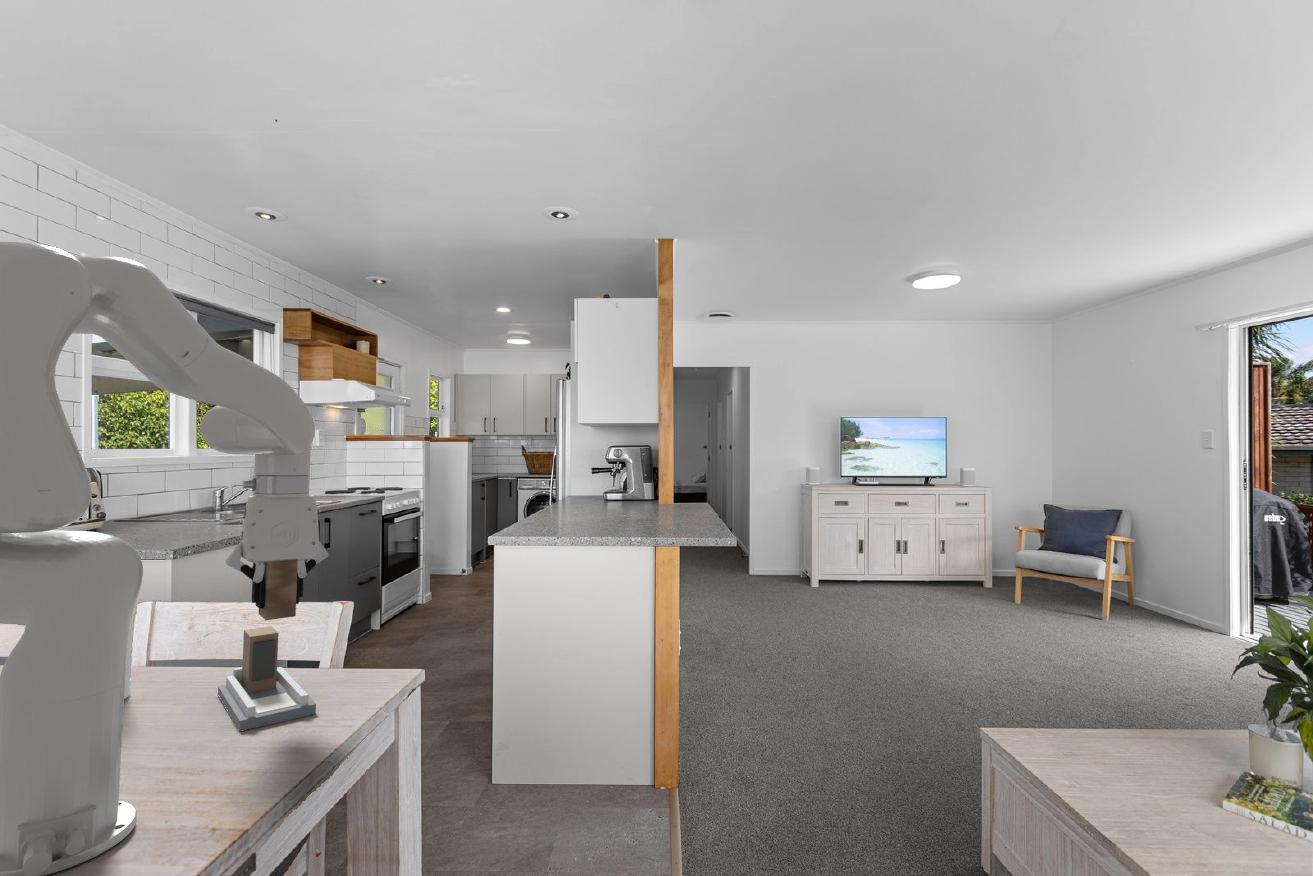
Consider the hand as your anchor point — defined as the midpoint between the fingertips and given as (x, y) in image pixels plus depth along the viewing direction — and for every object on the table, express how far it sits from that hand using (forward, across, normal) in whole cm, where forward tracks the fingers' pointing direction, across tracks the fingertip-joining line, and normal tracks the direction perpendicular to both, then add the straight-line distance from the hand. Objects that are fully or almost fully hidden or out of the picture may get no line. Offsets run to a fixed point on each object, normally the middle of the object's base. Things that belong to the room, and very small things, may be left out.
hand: (277, 603), depth 99 cm
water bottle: (+17, -20, +22) cm, 35 cm away
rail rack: (+17, 0, +4) cm, 17 cm away
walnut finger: (+2, 0, 0) cm, 2 cm away
